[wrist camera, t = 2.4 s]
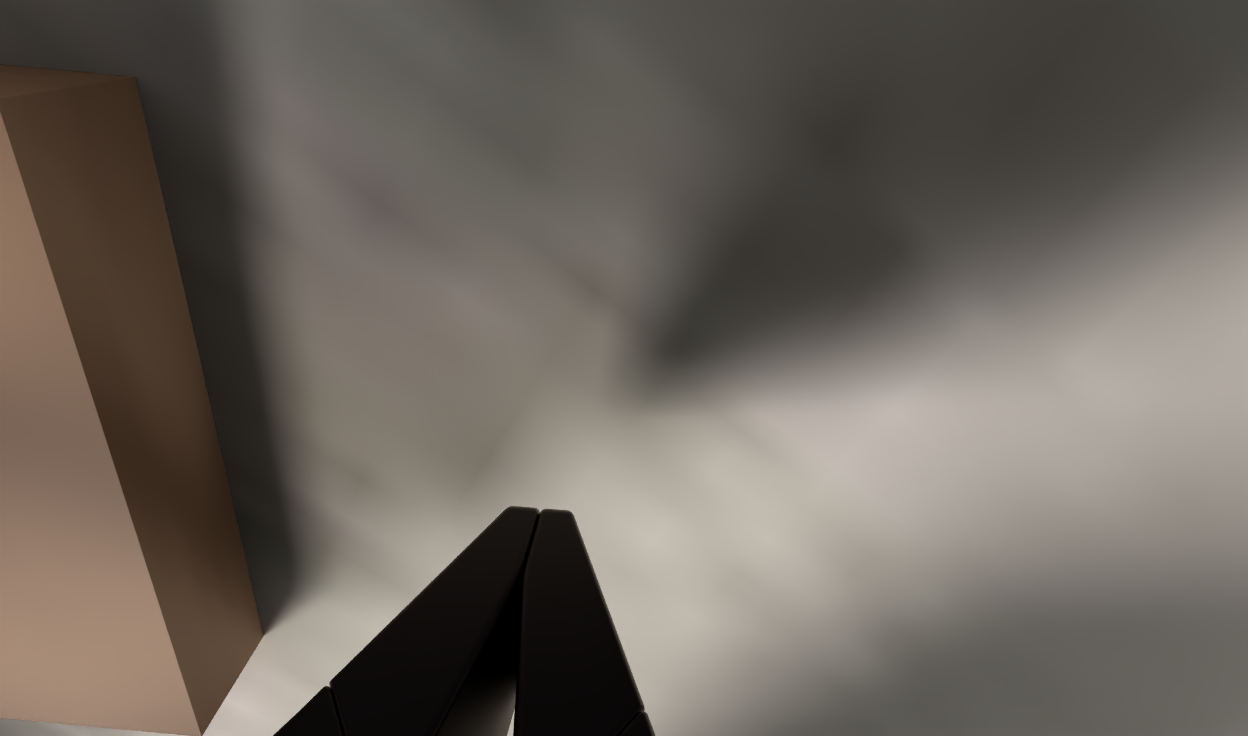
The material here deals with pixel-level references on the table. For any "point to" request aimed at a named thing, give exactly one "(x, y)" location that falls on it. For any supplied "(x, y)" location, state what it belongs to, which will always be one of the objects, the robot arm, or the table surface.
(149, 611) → the tan rectangular slab
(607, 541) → the table surface
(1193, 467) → the table surface
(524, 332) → the table surface
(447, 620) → the robot arm
